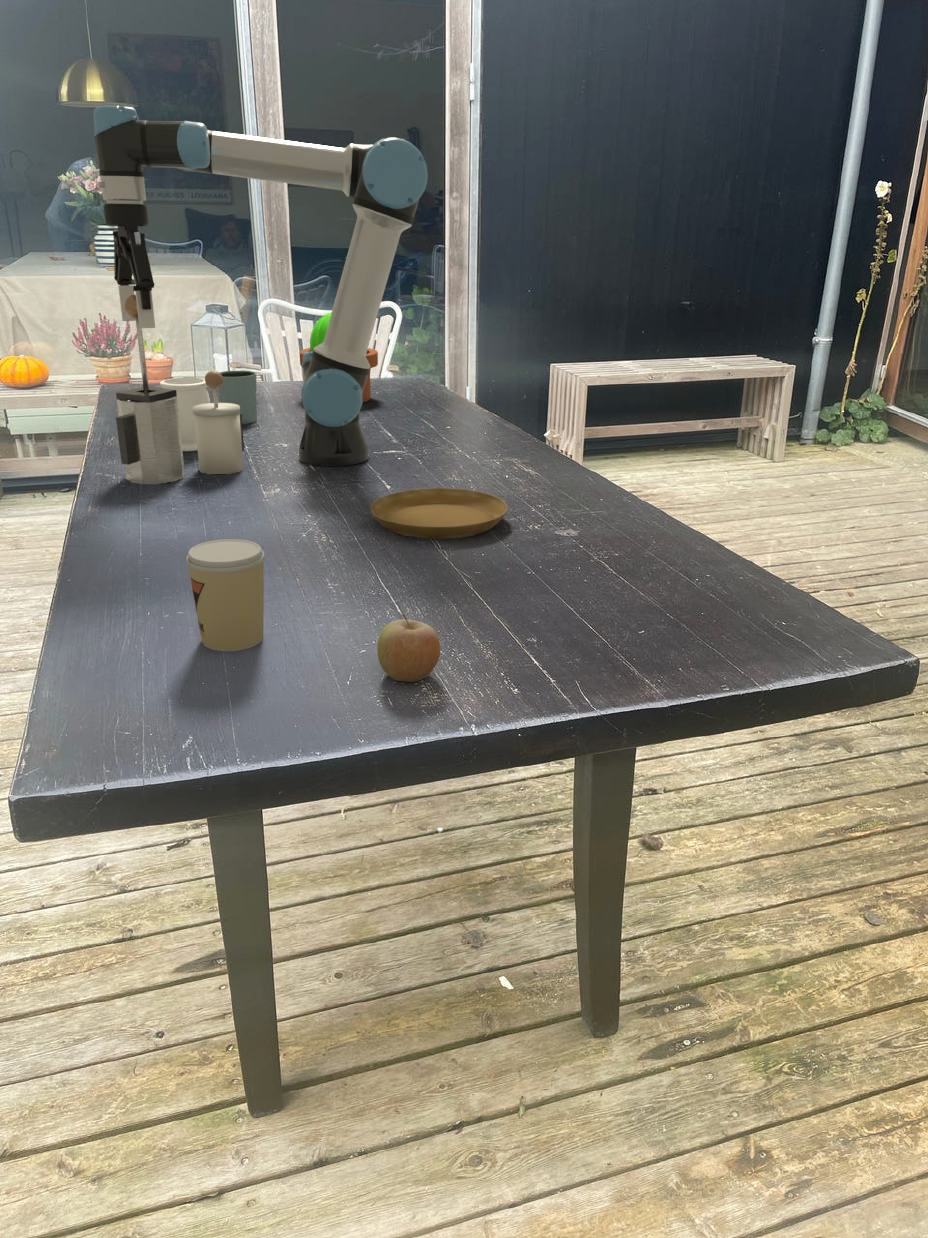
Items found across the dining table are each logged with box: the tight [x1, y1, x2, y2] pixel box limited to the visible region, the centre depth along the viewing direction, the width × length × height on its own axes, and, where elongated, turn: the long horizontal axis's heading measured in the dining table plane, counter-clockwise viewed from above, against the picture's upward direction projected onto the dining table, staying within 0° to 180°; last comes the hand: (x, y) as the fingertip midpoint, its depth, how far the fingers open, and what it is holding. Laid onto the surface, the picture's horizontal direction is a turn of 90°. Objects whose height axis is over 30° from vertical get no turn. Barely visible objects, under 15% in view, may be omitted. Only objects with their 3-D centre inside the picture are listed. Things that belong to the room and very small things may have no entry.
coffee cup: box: [185, 538, 265, 653], centre depth 119 cm, size 9×9×12 cm
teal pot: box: [217, 369, 258, 425], centre depth 243 cm, size 10×10×12 cm
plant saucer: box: [369, 487, 508, 540], centre depth 169 cm, size 24×24×3 cm
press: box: [115, 386, 186, 485], centre depth 189 cm, size 11×14×17 cm
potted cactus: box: [299, 310, 379, 404], centre depth 270 cm, size 22×22×25 cm
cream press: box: [193, 370, 245, 475], centre depth 197 cm, size 9×12×20 cm
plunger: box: [125, 294, 161, 402], centre depth 184 cm, size 8×8×21 cm
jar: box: [160, 377, 211, 452], centre depth 214 cm, size 11×10×15 cm
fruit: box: [376, 612, 441, 683], centre depth 111 cm, size 8×7×8 cm
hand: (138, 324), depth 182 cm, fingers open, 13 cm apart
